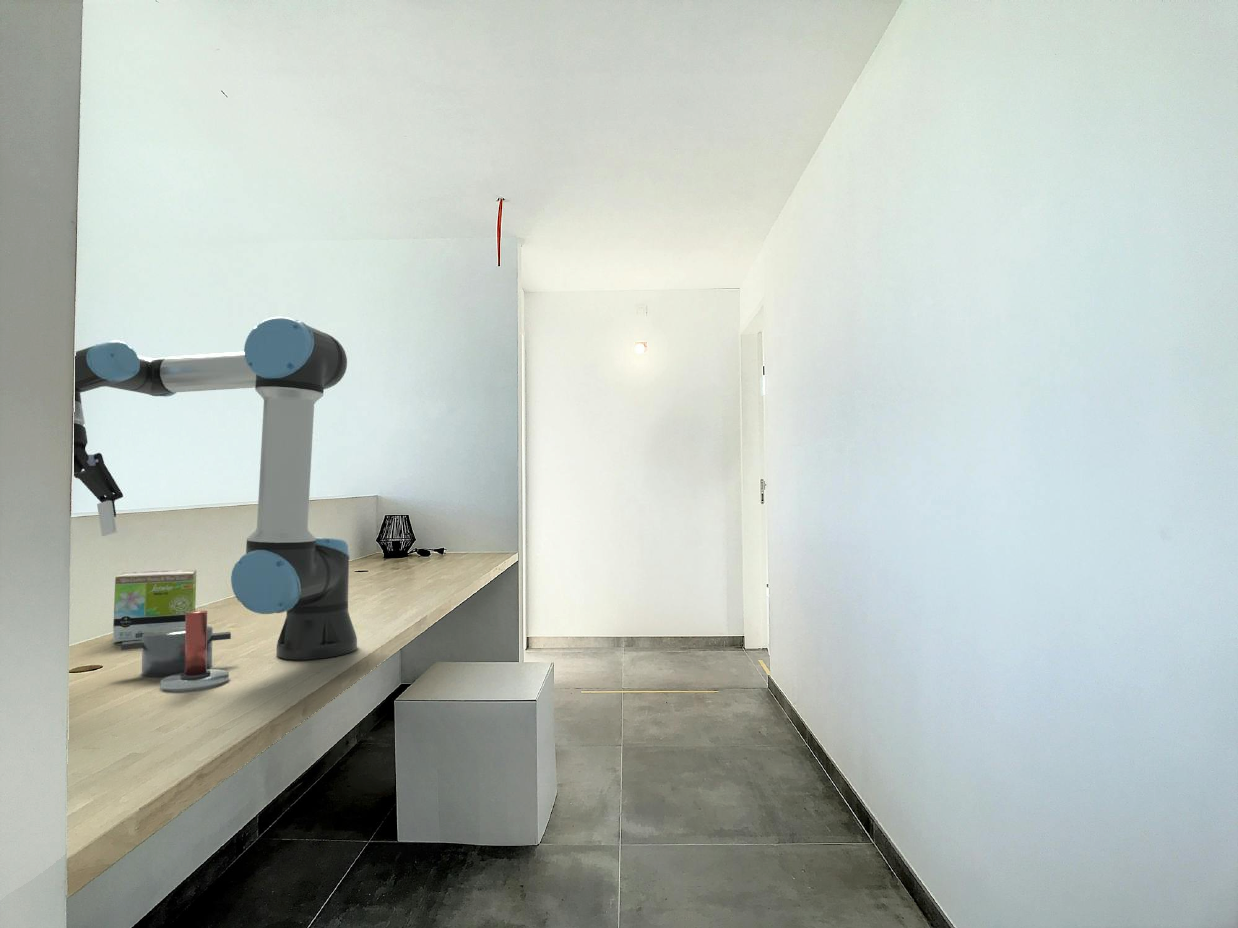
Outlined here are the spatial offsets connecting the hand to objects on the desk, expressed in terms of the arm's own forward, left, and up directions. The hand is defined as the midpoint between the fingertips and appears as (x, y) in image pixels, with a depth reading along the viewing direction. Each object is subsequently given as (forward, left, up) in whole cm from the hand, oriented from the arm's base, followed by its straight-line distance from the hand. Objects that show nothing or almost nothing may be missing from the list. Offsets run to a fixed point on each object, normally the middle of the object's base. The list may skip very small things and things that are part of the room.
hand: (76, 534), depth 132 cm
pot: (-20, -1, -25) cm, 32 cm away
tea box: (+7, -30, -25) cm, 40 cm away
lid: (-30, +8, -25) cm, 40 cm away
